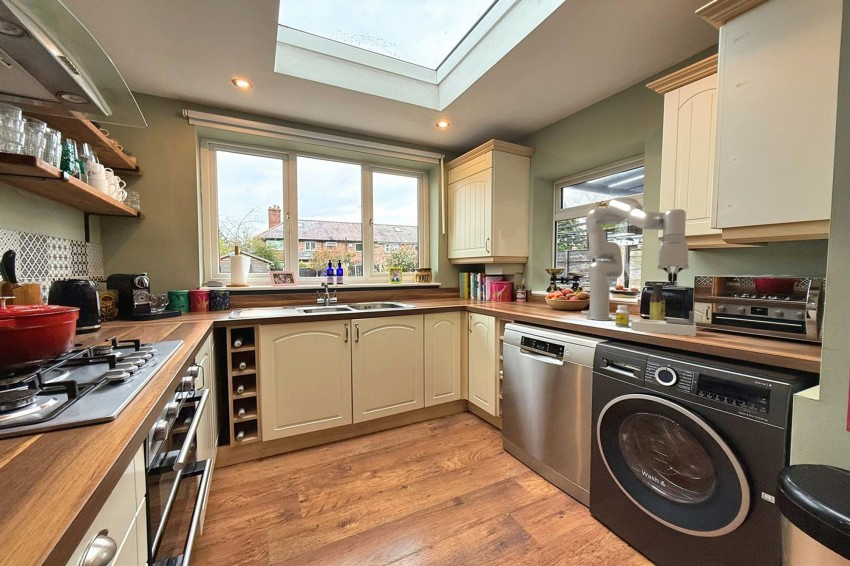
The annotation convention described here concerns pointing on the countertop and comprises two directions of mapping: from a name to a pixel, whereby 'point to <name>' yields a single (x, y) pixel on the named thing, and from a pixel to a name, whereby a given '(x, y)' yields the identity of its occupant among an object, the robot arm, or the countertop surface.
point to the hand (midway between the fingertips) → (672, 283)
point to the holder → (663, 327)
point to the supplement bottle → (622, 316)
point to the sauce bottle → (657, 303)
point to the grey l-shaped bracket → (682, 320)
